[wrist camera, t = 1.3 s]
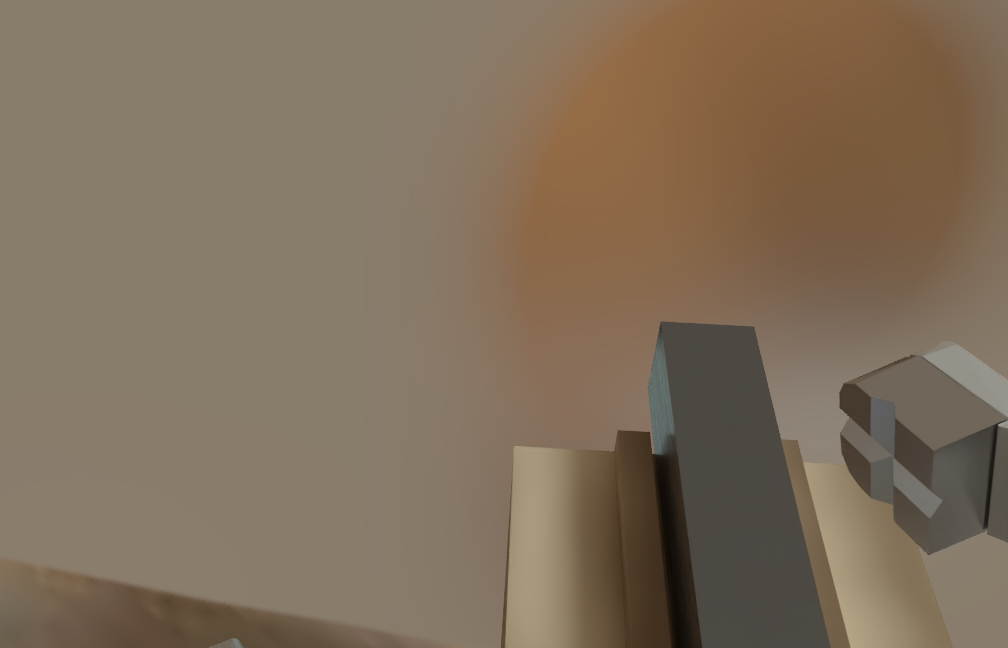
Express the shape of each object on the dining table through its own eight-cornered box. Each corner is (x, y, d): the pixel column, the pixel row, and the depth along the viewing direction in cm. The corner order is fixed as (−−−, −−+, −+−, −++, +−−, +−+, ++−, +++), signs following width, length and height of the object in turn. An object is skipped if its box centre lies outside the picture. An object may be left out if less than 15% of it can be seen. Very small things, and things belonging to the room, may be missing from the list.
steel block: (735, 1228, 17) (772, 1201, 15) (648, 387, 33) (660, 321, 31) (906, 1238, 17) (966, 1213, 15) (735, 392, 33) (753, 326, 31)
